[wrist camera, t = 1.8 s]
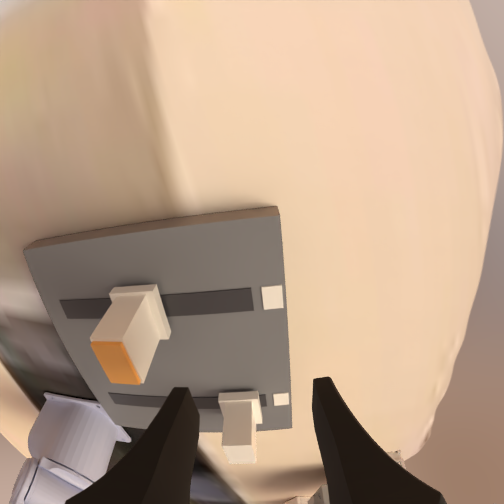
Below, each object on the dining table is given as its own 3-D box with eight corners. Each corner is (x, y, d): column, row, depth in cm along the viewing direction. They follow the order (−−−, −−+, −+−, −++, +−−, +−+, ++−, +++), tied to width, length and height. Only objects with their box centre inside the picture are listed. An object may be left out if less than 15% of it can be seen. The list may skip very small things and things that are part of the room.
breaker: (226, 417, 22) (223, 465, 18) (218, 392, 21) (213, 444, 17) (262, 416, 22) (263, 463, 18) (257, 390, 21) (258, 443, 16)
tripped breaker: (131, 332, 19) (105, 386, 14) (113, 287, 17) (78, 338, 12) (171, 331, 18) (152, 390, 14) (156, 284, 17) (127, 339, 12)
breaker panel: (120, 412, 26) (115, 425, 25) (36, 240, 18) (21, 251, 16) (290, 413, 25) (292, 429, 24) (277, 206, 17) (280, 215, 16)
